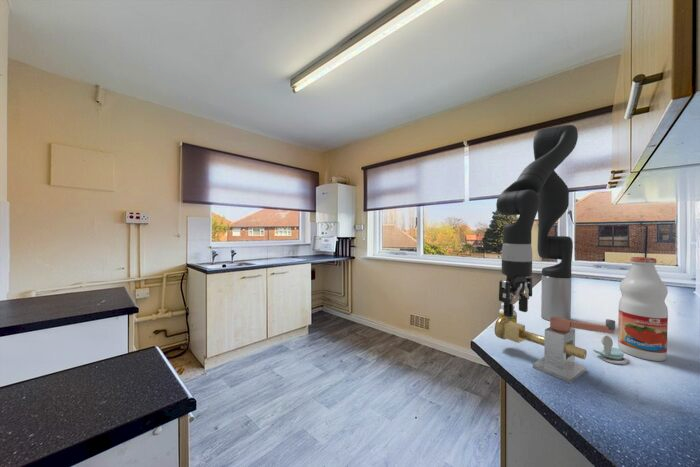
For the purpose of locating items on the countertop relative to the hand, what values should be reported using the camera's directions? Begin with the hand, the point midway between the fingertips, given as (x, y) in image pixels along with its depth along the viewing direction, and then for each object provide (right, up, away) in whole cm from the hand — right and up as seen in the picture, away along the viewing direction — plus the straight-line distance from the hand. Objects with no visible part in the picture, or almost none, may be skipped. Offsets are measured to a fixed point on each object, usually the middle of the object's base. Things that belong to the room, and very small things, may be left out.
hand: (515, 313), depth 75 cm
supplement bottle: (+7, -11, +16) cm, 21 cm away
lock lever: (+9, -1, -11) cm, 14 cm away
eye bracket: (+6, -12, -9) cm, 16 cm away
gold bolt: (+3, -9, -4) cm, 10 cm away
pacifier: (+24, -12, -4) cm, 27 cm away
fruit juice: (+36, -12, -1) cm, 38 cm away
